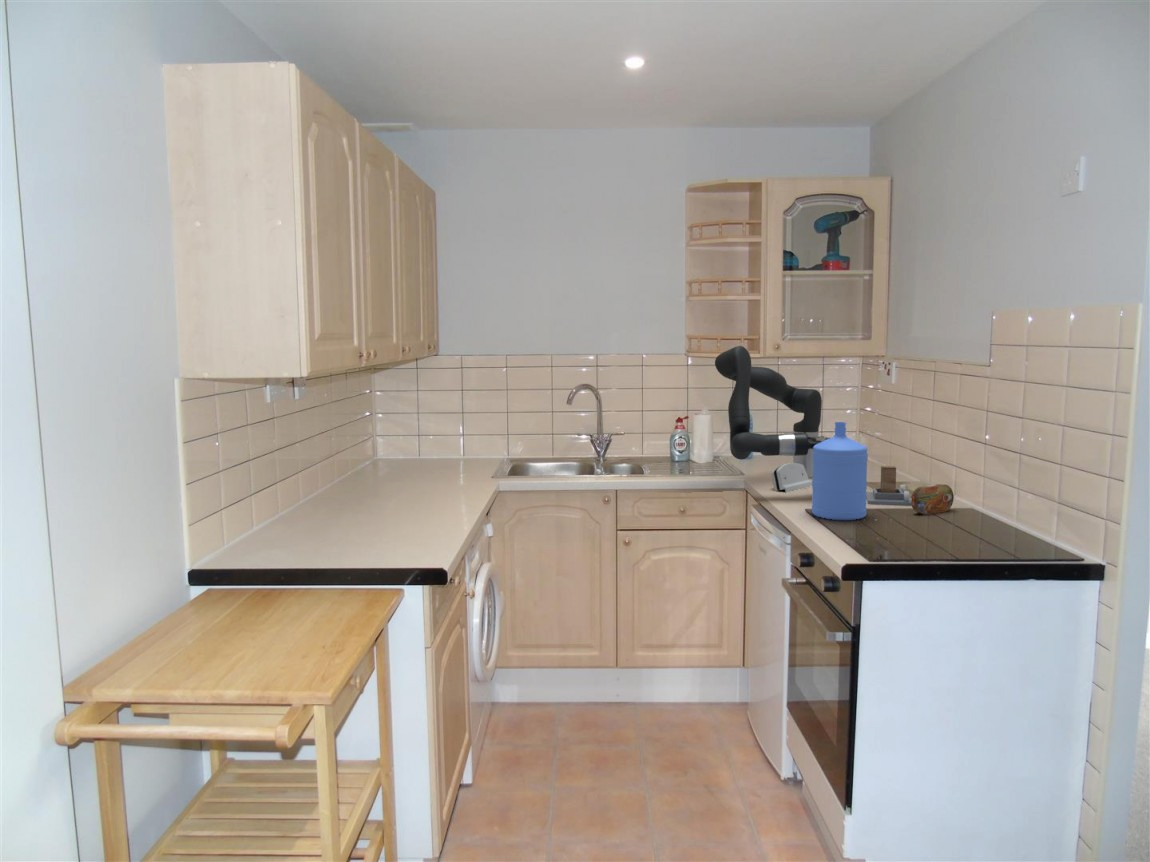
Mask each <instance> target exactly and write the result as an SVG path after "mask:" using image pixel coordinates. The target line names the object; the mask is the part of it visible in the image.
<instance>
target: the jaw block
mask: <svg viewBox="0 0 1150 862" xmlns="http://www.w3.org/2000/svg"><path fill="white" fill-rule="evenodd" d="M896 484H897V467H896V466H895V465H880V488H881V490H880V493H896V489H897V488H896V487H897V486H896Z"/></svg>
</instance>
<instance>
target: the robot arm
mask: <svg viewBox="0 0 1150 862" xmlns="http://www.w3.org/2000/svg"><path fill="white" fill-rule="evenodd" d="M750 354H751V353H750V352H749V351H748V349H747V348H746V347H744V346H742V345H736V346H734V347H732V348H730V349H728V350H726V351H724V352H722V353H720V354H718V355H717V356H716V358H715V361H714V366H715V368H716V371H717V372H718V373H719V374H720V375H721V376H723V378H726V379H729V380H732V381H734V382H735V384H734V388H733V390H732V394H731V396H730V399H729V401H728V407H727V412H728V423H729V449H730V453H731V455H732V457H734V458H736V460H746V459H747V458H749V456H750V455H751V453H760V454H761V455H762V456H767V457H768V456H769V457H770V456H771V457H773V456H774V457H775V456H780V457H781V456H782V457H783V456H784V457H792V463H799V464H802V465H803V466H804V468H805V470H806V473H807V476H808V478H809V479H811V478H812V479H813V447H814V446H815V445H816V444H818V443H821V442H823V441H825V440H827V439H830V438H831V437H827V436H824V435H822V436H821V435H820V436H819V430H820V429H819V428H820V425H821V418H822V407H823V404H822V403H823V402H822V396H821V395H822V394H821V393H820V392H819V390H817V389H814V388H798V387H794V386H791V385H789V384H788V383H787V380H786V378H785V377H784V376H783V375H782V373H781V374H780V372H777V371H775V370H774V369H771V368H770V367H763V366H752V359H751V355H750ZM750 388H751V389H753V390H755V391H756V392H757V391H758V392H759V393H760V394H762V395H764V396H766V397H769V398H771V399H773V400H775V401H777V402H780V403H781V404H783V405H784V406H785V407H787V408H789V409H790V410H791V411H793V412H795V413H799V414H803V418H802V420H800V421H798V422H795V423H793V425H792V426H793V428H792V429H793V430H792V431H793V432H788V433H787V432H786V433H785V432H784V433H778V434H776V433H775V434H762V433H757V432H750V430H751V413H750V400H749V399H750V390H751V389H750Z"/></svg>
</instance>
